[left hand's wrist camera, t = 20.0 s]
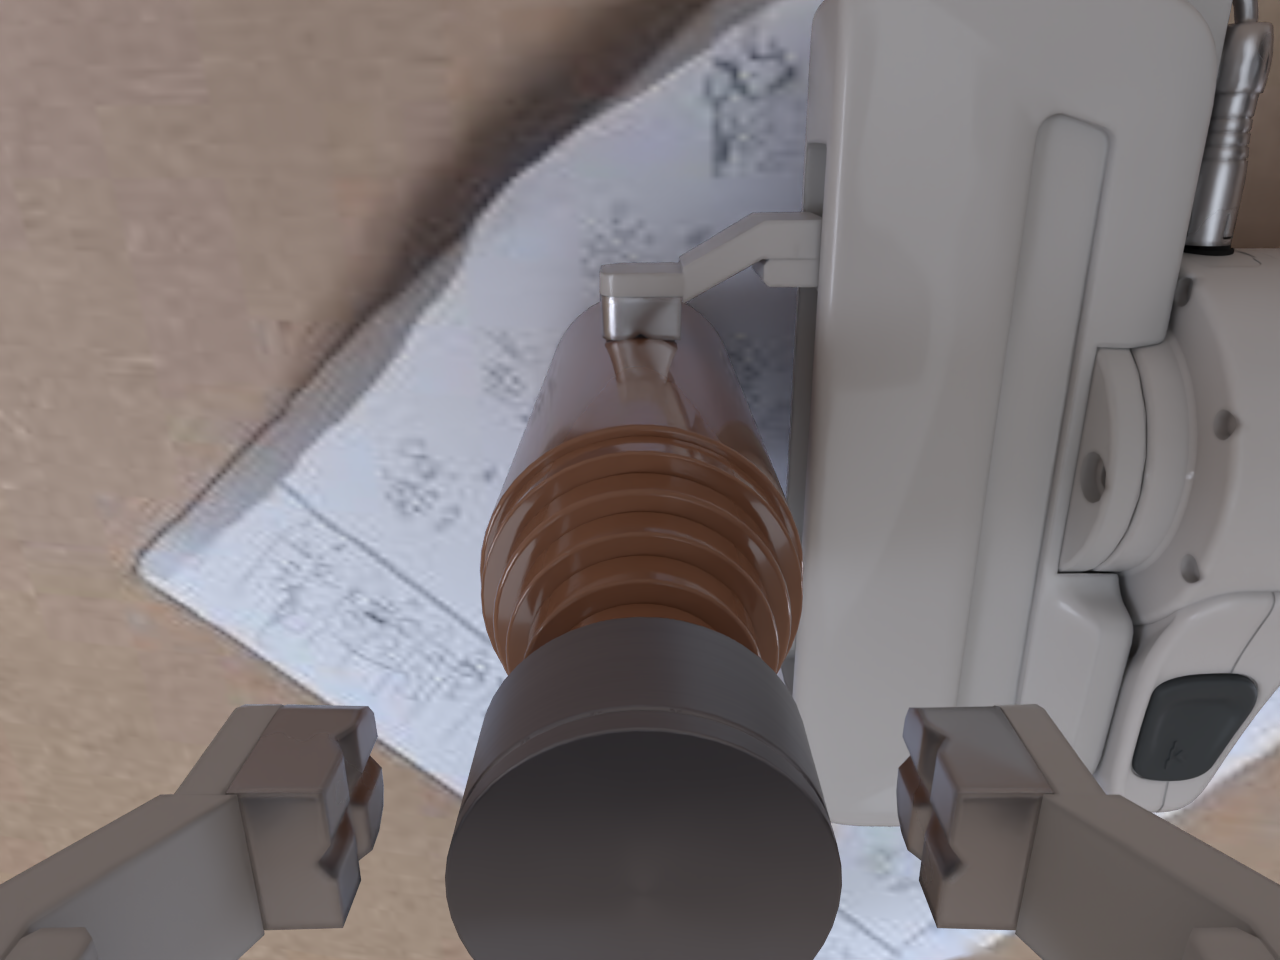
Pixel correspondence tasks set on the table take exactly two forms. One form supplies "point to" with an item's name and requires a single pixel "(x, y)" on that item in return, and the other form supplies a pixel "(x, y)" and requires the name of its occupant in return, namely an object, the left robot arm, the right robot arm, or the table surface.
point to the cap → (643, 806)
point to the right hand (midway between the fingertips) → (603, 443)
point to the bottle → (641, 500)
